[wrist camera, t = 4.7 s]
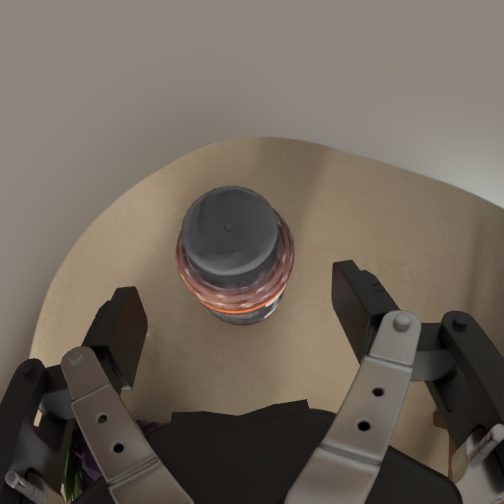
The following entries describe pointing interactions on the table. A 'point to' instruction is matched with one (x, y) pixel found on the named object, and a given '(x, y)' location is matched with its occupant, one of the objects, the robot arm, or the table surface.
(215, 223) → the supplement bottle
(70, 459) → the fruit
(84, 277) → the table surface
